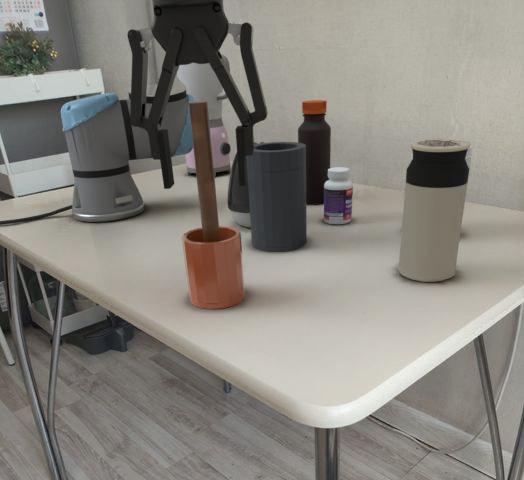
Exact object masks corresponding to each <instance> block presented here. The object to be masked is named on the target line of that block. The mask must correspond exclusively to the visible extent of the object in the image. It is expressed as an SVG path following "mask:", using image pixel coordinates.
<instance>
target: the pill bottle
mask: <svg viewBox="0 0 524 480" xmlns="http://www.w3.org/2000/svg"><path fill="white" fill-rule="evenodd" d="M350 171H351V170H350V168H349V167H341V166H339V167H338V166H337V167H330V169H328V178H329V180H328V181H326V182H325V184H324V203H323V222H325V223H326V224H329V225H344V224H346V225H347V224H349V223H350V222H351V221H352V218H353V195H354V194H353V193H354V192H353V191H354V184H353V182H352V181H351V180H350V179H349V178H350Z"/></svg>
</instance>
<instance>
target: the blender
mask: <svg viewBox="0 0 524 480" xmlns="http://www.w3.org/2000/svg"><path fill="white" fill-rule="evenodd" d="M221 55H222V57H223V59H224V61H225V63H226V66H227V68H228V70H229V72H230V73H231V68H230V67H231V66H230V60H229V59H228V57H227V56H226V55H224V54H222V53H221ZM177 77H178V79H179V80H180V81H181V82H182V83H183V84H184V85H185V86H186V94H189V95H192V96H193V98H194V100H195V102H198V101H207V102H208V113H209V124H210V135H211V146H212V157H213V168H214V178H216V175H217V173H219V172H224V171H227V173H229V174H230V172H231V168H232V166H231V158H230V153H231V145H230V142H229V141H230V140H229V134H228V130H227V129H226V126H225V124H224V121H223V115H222V114H223V101H224V100H227V99H228V97H227V95H226V93H225V91H224V89H223V87H222V85H221V84H220V82H219V80H218V78H217V76H216V74H215V72H214V71H213V69H212V68H211V66H210V64H209V63H208V64H197V63H191V64H188V65H179V69H178V71H177ZM184 156H185V161H186V172H187V176H191V174H196V167H195V158H194V149H192V151H191V152H190V153H188V154H184Z"/></svg>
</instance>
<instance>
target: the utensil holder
mask: <svg viewBox="0 0 524 480" xmlns="http://www.w3.org/2000/svg"><path fill="white" fill-rule="evenodd" d="M246 159H247V175H248V191H249V207H250V223H251V228H250V237H251V239H250V240H251V245H252V247H253V248H255V249H256V250H258V251H264V252H274V253H279V252H281V253H282V252H290V251H295V250H298V249H300V248H303V247H304V246H306V244H307V243H308V241H307V240H308V239H307V238H308V237H307V234H308V233H307V232H308V231H307V229H308V227H307V225H308V223H307V204H306V145H305V144H303V143H298V141H270V142H264V143H261V144H260V143H259V144H255V145H254V152H253V154H252V156H246Z"/></svg>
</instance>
